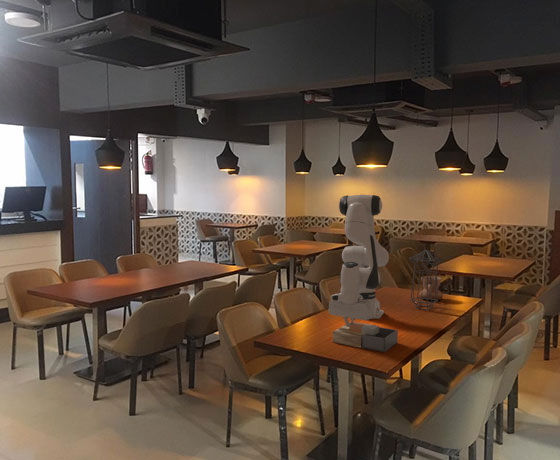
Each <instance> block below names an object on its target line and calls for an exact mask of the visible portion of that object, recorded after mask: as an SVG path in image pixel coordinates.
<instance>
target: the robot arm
mask: <svg viewBox="0 0 560 460" xmlns="http://www.w3.org/2000/svg"><path fill="white" fill-rule="evenodd" d="M382 209H383V201H382V198H381V197H380V196H379V195H376V194H372V195H371V194H353V195H343V196H341V198H339V201H338V210H339V213H340V214H341V215H343V216H345V219H344V235H345V237H346V239H348V240H349V241H350V242H352V243H354V244H356V245H349V246H345V247H344V249H343V250H342V253H341V260H342V262H344V263H342V265H341V270H340V272H339V283H340V284H341V287H340V292H338V293H334V294H331V295H330V301H329V303H328V314H329V315H330V316H331V315H332V316H339V317H343V321H344V323H345V325H346V326H347V327H349V325H350V324H352V323H354V322H356V320H361V321H369V320H372V319H374V320H375V319H381V318H382V316H383V315H384V313H385V311H384V310H383V309H380V308H381V303H380V301H379V300H378V299H377V298H376V295H377V294H378V291H377V290H375V289H377V288H378V286H380V284H381V274H380V271H379V267H384V266H386V265H387V264H388V262H389V259H390V256H389V252H388V250H387V249H386V248H385V247H384V246H382V245H381V244H380V242H379V241H378V239H377V236H376V231H375V218H374V217H375V216H378V215H379V214H380V213H381V212H382ZM348 319H350V322H349V320H348Z"/></svg>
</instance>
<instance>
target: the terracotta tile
mask: <svg viewBox="0 0 560 460" xmlns="http://www.w3.org/2000/svg"><path fill="white" fill-rule="evenodd" d="M366 324H367V323H364V322H358V321H354V322H353V323H352V324H350V325H349V331H351V332H357V333H361V331H362V326H364V325H366Z"/></svg>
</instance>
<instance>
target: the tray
mask: <svg viewBox="0 0 560 460" xmlns="http://www.w3.org/2000/svg"><path fill="white" fill-rule="evenodd" d="M398 332H399V331H398V329H392V328H386V327H381V326H379V333H377V334H376V335H374V336H373V335H363V334H362V347H361V349H365V350H369V351H376V352H380V353H386V352H387V351H389V350H390V349H391V348H393V347H394V346H396V345H397V344H398Z"/></svg>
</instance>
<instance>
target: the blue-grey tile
mask: <svg viewBox="0 0 560 460" xmlns="http://www.w3.org/2000/svg"><path fill="white" fill-rule="evenodd" d="M365 324H366V325H364V326H362V331H361V333H362V334H368V335H373V336H374V335H376V334H377V333H379V327H380V325H376V324H375V325H374V324H370V323H365Z"/></svg>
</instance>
